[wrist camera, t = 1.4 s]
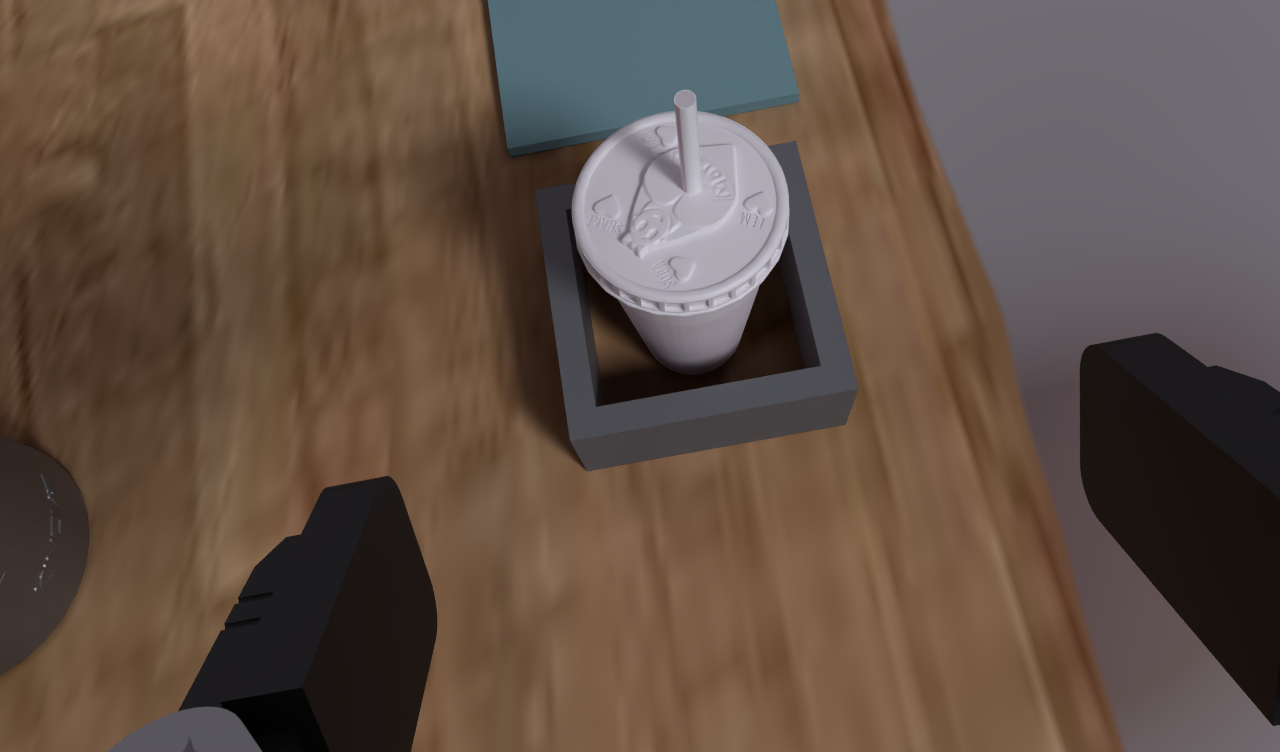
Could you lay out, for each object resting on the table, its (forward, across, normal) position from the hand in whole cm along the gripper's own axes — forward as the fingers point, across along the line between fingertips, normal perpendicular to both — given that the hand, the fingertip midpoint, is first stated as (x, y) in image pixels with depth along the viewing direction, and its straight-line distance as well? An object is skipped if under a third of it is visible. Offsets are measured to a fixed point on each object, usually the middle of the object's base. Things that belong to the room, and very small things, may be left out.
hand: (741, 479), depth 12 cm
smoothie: (+25, 0, +8) cm, 26 cm away
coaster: (+35, 0, -2) cm, 35 cm away
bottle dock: (+25, 0, +8) cm, 26 cm away
